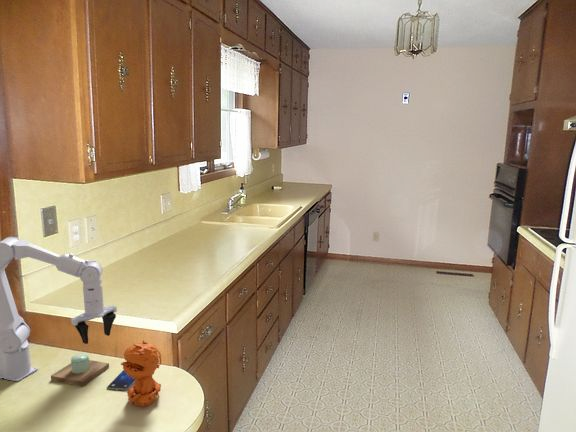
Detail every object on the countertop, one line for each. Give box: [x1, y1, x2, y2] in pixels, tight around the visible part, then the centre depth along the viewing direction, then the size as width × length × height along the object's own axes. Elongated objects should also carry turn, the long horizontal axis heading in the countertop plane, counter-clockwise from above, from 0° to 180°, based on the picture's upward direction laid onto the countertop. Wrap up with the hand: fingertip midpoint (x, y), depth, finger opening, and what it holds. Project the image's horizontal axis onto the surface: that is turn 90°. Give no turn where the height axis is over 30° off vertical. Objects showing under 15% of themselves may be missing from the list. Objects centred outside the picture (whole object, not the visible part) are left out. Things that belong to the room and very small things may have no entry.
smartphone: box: [106, 369, 136, 392], centre depth 140 cm, size 7×1×15 cm
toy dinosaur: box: [120, 340, 162, 407], centre depth 126 cm, size 11×11×18 cm
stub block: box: [50, 359, 110, 387], centre depth 142 cm, size 12×12×4 cm
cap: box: [70, 353, 90, 374], centre depth 142 cm, size 5×5×4 cm
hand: (96, 338), depth 146 cm, fingers open, 7 cm apart
